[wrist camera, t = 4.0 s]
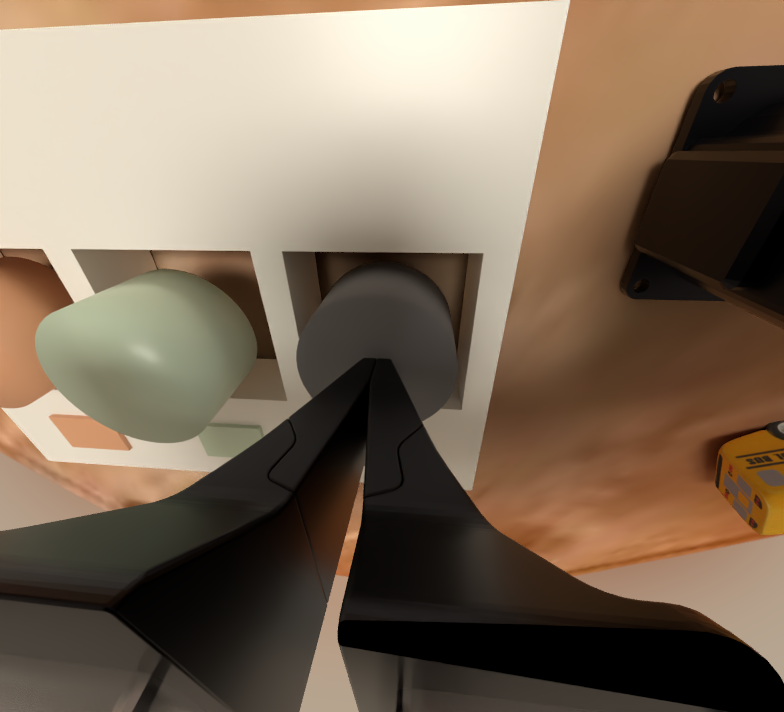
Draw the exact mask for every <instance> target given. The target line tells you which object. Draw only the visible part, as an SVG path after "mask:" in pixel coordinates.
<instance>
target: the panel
mask: <svg viewBox="0 0 784 712" xmlns="http://www.w3.org/2000/svg"><path fill="white" fill-rule="evenodd" d="M569 3H570V0H557V1H538V2H519V3H500V4H481V5H462V6H443V7H424V8H405V9H386V10H367V11H348V12H329V13H310V14H291V15H272V16H253V17H234V18H215V19H196V20H177V21H158V22H139V23H120V24H101V25H82V26H63V27H44V28H25V29H6V30H0V248H12V249H43V251H44V252H45V254H46V256H47V257H48V259H49V261H50V262H51V264H52V266H53V267H54V269H55V271H56V272H57V274H58V276H59V278H60V279H61V281H62V283H63V284H64V286H65V288H66V289H67V291H68V293H69V294H70V296H71V298H72V299H73V301H74V303H76V302H78V301H80V300H83V299H85V298H87V297H90V296H92V295H94V294H97V293H99V292H101V291H104V290H106V289H108V288H111V287H113V286H115V285H118V284H120V283H122V282H124V281H127V280H129V279H131V278H134V277H136V276H138V275H141V274H143V273H146V272H148V271H152V270H157V267H156V265H155V263H154V260H153V258H152V255H151V253H150V251H149V250H208V251H250V253H251V257H252V261H253V265H254V269H255V273H256V277H257V281H258V285H259V289H260V293H261V297H262V301H263V305H264V309H265V313H266V317H267V321H268V325H269V329H270V333H271V337H272V341H273V345H274V349H275V353H276V357H277V359H256V362H255V365H254V367H253V369H252V370H251V371H250V373H249V374H248V375H247V377H246V378H245V379H244V380H243V382H242V383H241V384H240V385H239V387H238V388H237V389H236V390H235V392H234V393H233V394H232V395H231V397H230V398H229V399H228V400H227V402H226V403H225V404H224V405H223V407H222V408H221V409H220V410H219V412H218V413H217V414H216V415H215V417H214V418H213V419H212V420H211V422H210V423H209V424H208V425H207V427H206V428H205V429H204V431H202V432H201V433H200V434H199V435H198V436H196V437H194V438H192V439H190V440H187V441H183V442H178V443H155V442H148V441H143V440H139V439H136V438H132V437H129V436H126V435H124V434H121V433H119V432H116V431H114V430H112V429H110V428H108V427H106V426H104V425H102V424H100V423H99V422H97V421H95V420H94V419H92V418H90V417H89V416H87V415H86V414H85V413H83V412H82V411H80V410H79V409H78V408H77V407H75V406H74V405H73V404H72V403H71V402H70V401H68V400H67V399H66V398H65V397H64V396H63V395H62V394H61V393H60V392H59V391H58V390H57V388H55V389H53V390H51V391H50V392H48V393H47V394H45V395H44V396H42V397H40V398H39V399H37V400H36V401H34V402H33V403H31V404H29V405H27V406H25V407H21V408H2V409H3V410H4V411H5V413H6V414H7V415H8V416H9V417H10V418H11V419H12V420H13V421H14V423H15V424H16V425H17V426H18V427H19V428H20V429H21V430H22V432H23V433H24V434H25V435H26V436H27V437H28V438H29V439H30V440H31V442H32V443H33V444H34V445H35V446H36V447H37V448H38V449H39V450H40V452H41V453H42V454H43V455H44V456H45V457H46V458H47V459H48V460H49V461H59V462H74V463H88V464H102V465H116V466H131V467H145V468H159V469H173V470H187V471H202V472H212V471H214V470H215V469H217V468H218V467H220V466H221V465H223V464H224V463H226V462H227V461H229V460H230V459H232V458H234V457H235V456H237V455H238V454H240V453H241V452H243V451H244V450H245V449H247V448H248V447H250V446H251V445H253V444H254V443H256V442H257V441H258V440H260V439H261V438H263V437H264V436H265V435H266V434H268V433H269V432H270V431H272V430H273V429H274V428H276V427H277V426H278V425H280V424H281V423H282V422H283V421H285V420H286V419H289V417H290V416H291V415H292V414H293V413H295V412H296V411H297V410H298V409H300V408H301V407H302V406H303V405H305V404H306V403H307V402H308V401H310V400H311V399H312V397H311V396H310V394H309V393H308V392H307V390H306V388H305V387H304V385H303V383H302V381H301V378H300V376H299V372H298V369H297V362H296V351H297V345H298V341H299V338H300V336H301V333H302V331H303V330H304V328H305V326H306V325H307V323H308V322H309V320H310V319H311V317H312V316H313V314H314V313H315V312H316V310H317V309H318V307H319V306H320V304H321V303H322V301H321V294H320V287H319V280H318V273H317V266H316V259H315V252H405V253H469V254H468V263H467V272H466V280H465V289H464V298H463V306H462V315H461V324H460V333H459V341H458V350H457V361H458V376H457V381H456V385H455V388H454V390H453V392H452V394H451V396H450V398H449V399H448V401H447V402H446V403H445V404H444V406H443V407H442V408H441V409H440V410H439V411H438V412H436V413H435V414H434V415H432V416H431V417H429V418H428V419H426V420H424V421H422V422H423V424H424V427H425V428H426V430H427V432H428V434H429V436H430V438H431V440H432V442H433V443H434V445H435V447H436V449H437V451H438V452H439V454H440V455H441V457H442V458H443V460H444V461H445V463H446V465H447V466H448V468H449V469H450V470H451V472H452V473H453V475H454V476H455V477H456V479H457V480H458V482H459V483H460V485H461V486H462V487H463V489H464V490H472V488H473V483H474V478H475V473H476V468H477V463H478V458H479V453H480V448H481V443H482V438H483V433H484V428H485V423H486V418H487V413H488V408H489V403H490V398H491V393H492V388H493V383H494V378H495V373H496V368H497V363H498V358H499V353H500V348H501V343H502V338H503V333H504V328H505V323H506V318H507V313H508V308H509V303H510V298H511V293H512V288H513V283H514V278H515V273H516V268H517V263H518V258H519V253H520V248H521V243H522V238H523V233H524V228H525V223H526V218H527V213H528V208H529V203H530V198H531V193H532V188H533V183H534V178H535V173H536V168H537V163H538V158H539V153H540V148H541V143H542V138H543V133H544V128H545V123H546V118H547V113H548V108H549V103H550V98H551V93H552V88H553V83H554V78H555V73H556V68H557V63H558V58H559V53H560V48H561V43H562V38H563V33H564V28H565V23H566V18H567V13H568V8H569ZM2 257H3V255H2V254H1V252H0V258H2ZM364 474H365V463H364V467H363V471H362V475H361V479H360V482H359V483H364Z"/></svg>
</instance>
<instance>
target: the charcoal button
mask: <svg viewBox="0 0 784 712" xmlns="http://www.w3.org/2000/svg"><path fill="white" fill-rule="evenodd" d="M362 358H376V359H378V358H387V359H391V360H392V361H393V363H394V365H395V368H396V370H397V372H398V374H399V376H400V378H401V380H402V382H403V384H404V386H405V388H406V390H407V392H408V394H409V396H410V398H411V400H412V402H413V404H414V406H415V408H416V410H417V412H418V414H419V416H420V418H421V420H422V421H424V420H426V419H428V418H429V417H431V416H432V415H434V414H435V413H436V412H438V411H439V410H440V409H441V408H442V407H443V406H444V404H445V403H446V402H447V401H448V399H449V398H450V396H451V394H452V392H453V390H454V388H455V385H456V381H457V376H458V361H457V354H456V347H455V341H454V334H453V328H452V321H451V315H450V310H449V306H448V303H447V301H446V299H445V296H444V295H443V293H442V292H441V290H440V289H439V287H438V286H437V285H436V284H435V283H434V282H433V281H432V280H431V279H430V278H429V277H428V276H426V275H425V274H423V273H422V272H420V271H418V270H416V269H414V268H412V267H410V266H407V265H404V264H400V263H395V262H373V263H368V264H364V265H361V266H358V267H356V268H354V269H352V270H350V271H349V272H347V273H346V274H344V275H343V276H342V277H341V278H340V279H339V280H338V281H337V282H336V283H335V284H334V286H333V287H332V288H331V290H330V291H329V293H328V294H327V296H326V297H325V299H324V300H323V301H322V303H321V304H320V306H319V307H318V309H317V310H316V312H315V313H314V314H313V316H312V317H311V319H310V320H309V322H308V323H307V325H306V326H305V328H304V330H303V331H302V333H301V336H300V338H299V341H298V345H297V351H296V362H297V369H298V372H299V376H300V378H301V381H302V383H303V385H304V387H305V388H306V390H307V392H308V393H309V394H310V396H311V397H312V398H313V397H315V396H316V395H317V394H318V393H320V392H321V391H322V390H323V389H325V388H326V387H327V386H328V385H330V384H331V383H332V382H333V381H335V380H336V379H337V378H338V377H340V376H341V375H342V374H343V373H345V372H346V371H347V370H348V369H350V368H351V367H352V366H353V365H355V364H356V363H357V362H358V361H360V360H361V359H362Z"/></svg>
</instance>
